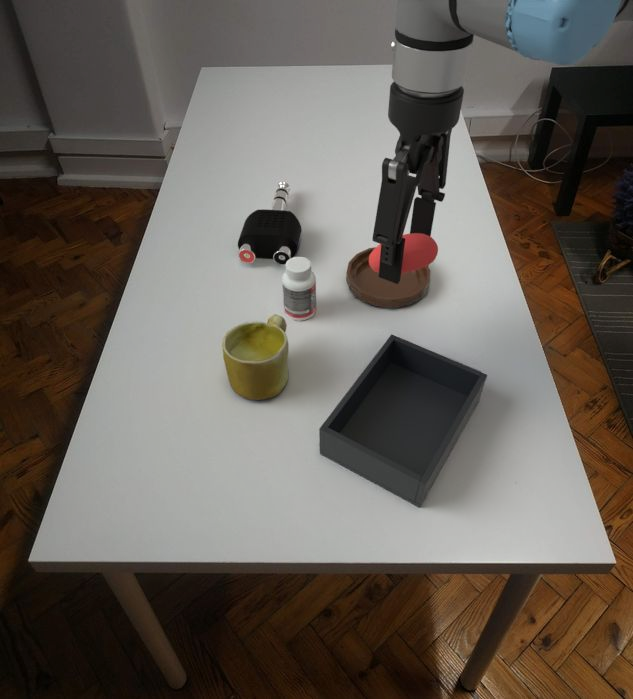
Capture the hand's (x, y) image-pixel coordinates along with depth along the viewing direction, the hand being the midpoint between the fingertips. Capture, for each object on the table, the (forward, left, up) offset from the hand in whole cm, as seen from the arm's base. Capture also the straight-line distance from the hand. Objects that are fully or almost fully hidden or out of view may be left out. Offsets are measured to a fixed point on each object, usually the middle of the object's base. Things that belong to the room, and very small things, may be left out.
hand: (404, 259), depth 73 cm
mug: (+14, +14, -18) cm, 27 cm away
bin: (-8, +12, -18) cm, 23 cm away
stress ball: (0, 0, -1) cm, 1 cm away
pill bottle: (+17, 0, -18) cm, 25 cm away
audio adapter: (+34, -17, -18) cm, 42 cm away
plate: (+8, -14, -18) cm, 24 cm away
